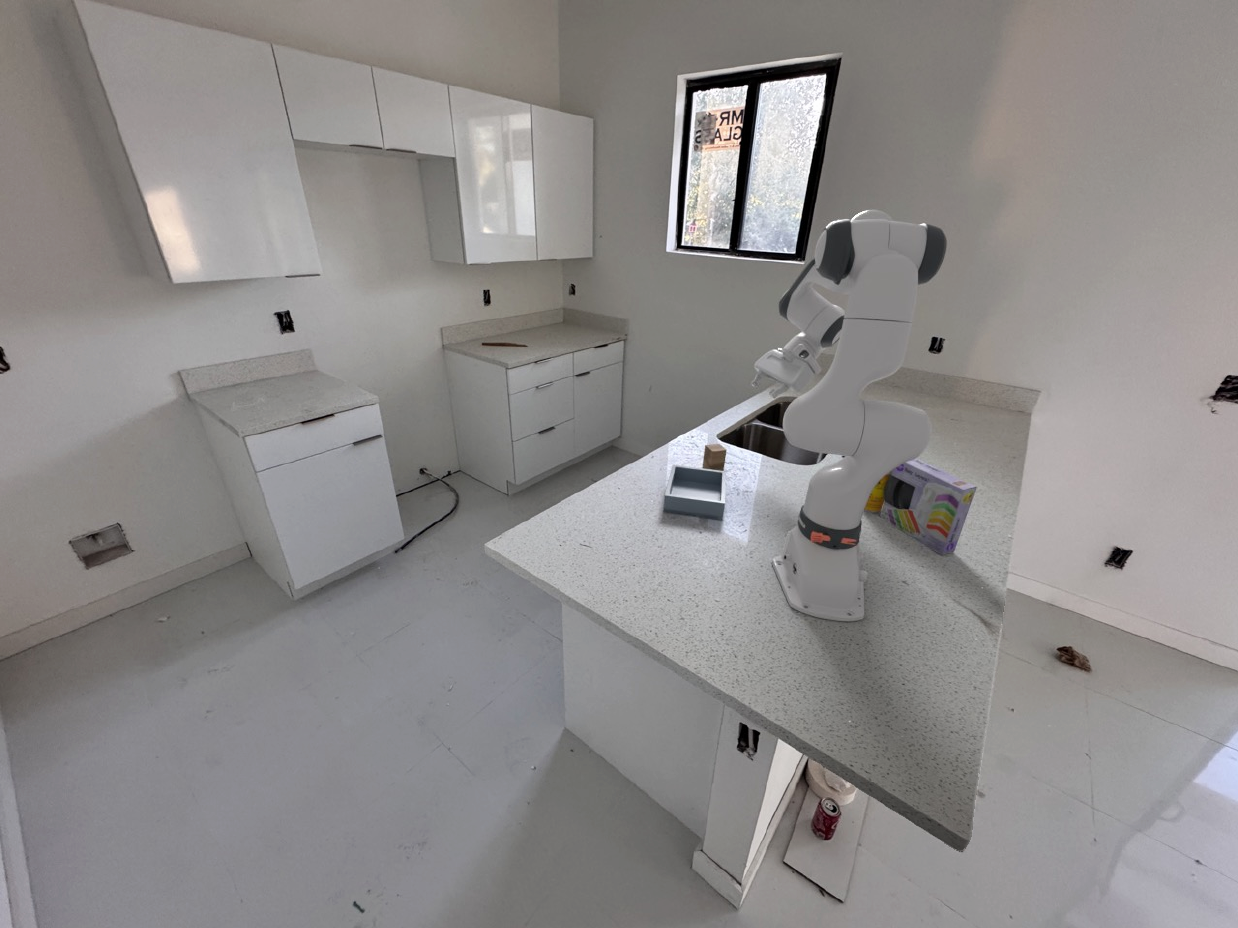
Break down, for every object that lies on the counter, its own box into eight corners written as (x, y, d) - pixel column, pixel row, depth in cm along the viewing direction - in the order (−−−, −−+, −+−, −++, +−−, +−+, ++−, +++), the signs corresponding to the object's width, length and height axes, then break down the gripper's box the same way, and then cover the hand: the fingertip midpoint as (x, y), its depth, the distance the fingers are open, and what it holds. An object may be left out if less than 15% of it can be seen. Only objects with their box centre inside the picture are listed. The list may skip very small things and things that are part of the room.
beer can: (855, 509, 132) (870, 459, 125) (857, 499, 137) (871, 450, 130) (880, 516, 130) (897, 464, 123) (881, 505, 134) (897, 456, 128)
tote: (722, 520, 125) (725, 503, 122) (663, 512, 127) (664, 495, 125) (723, 487, 141) (726, 471, 138) (671, 480, 143) (672, 464, 141)
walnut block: (723, 474, 148) (726, 449, 144) (709, 476, 146) (712, 451, 143) (715, 467, 152) (719, 443, 148) (702, 469, 150) (705, 445, 147)
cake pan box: (874, 514, 130) (893, 453, 122) (888, 511, 132) (908, 451, 124) (939, 557, 114) (966, 490, 106) (955, 553, 116) (982, 487, 108)
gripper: (771, 339, 148) (737, 373, 149) (815, 357, 130) (777, 395, 132) (781, 353, 151) (748, 386, 152) (825, 372, 134) (788, 409, 135)
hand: (761, 390), depth 142 cm, fingers open, 8 cm apart
